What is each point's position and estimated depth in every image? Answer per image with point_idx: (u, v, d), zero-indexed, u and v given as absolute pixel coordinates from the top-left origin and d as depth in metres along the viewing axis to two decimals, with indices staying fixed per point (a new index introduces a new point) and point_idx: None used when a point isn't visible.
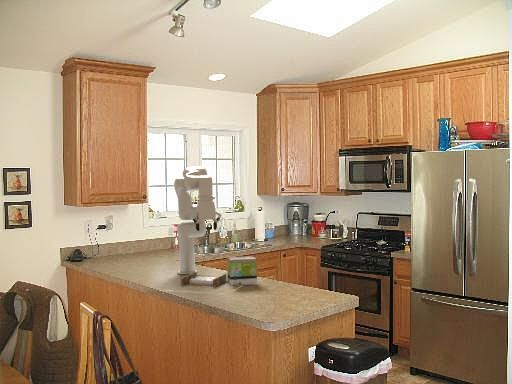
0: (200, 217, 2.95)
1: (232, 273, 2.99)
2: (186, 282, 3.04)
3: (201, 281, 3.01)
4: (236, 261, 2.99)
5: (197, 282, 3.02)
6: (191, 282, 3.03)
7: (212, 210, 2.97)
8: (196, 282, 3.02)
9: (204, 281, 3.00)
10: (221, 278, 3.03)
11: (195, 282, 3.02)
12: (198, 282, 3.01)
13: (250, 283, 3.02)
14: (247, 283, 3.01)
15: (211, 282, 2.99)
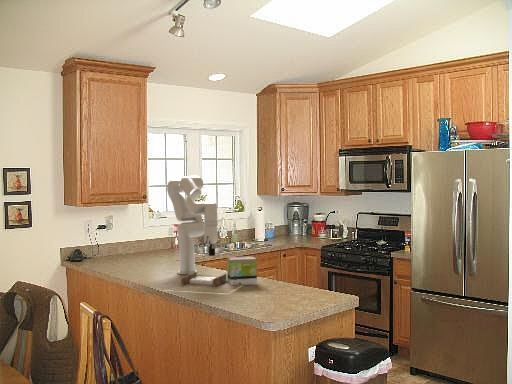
0: (212, 241, 3.10)
1: (232, 273, 2.99)
2: (186, 282, 3.04)
3: (201, 281, 3.01)
4: (236, 261, 2.99)
5: (197, 282, 3.02)
6: (191, 282, 3.03)
7: (217, 234, 3.16)
8: (196, 282, 3.02)
9: (204, 281, 3.00)
10: (221, 278, 3.03)
11: (195, 282, 3.02)
12: (198, 282, 3.01)
13: (250, 283, 3.02)
14: (247, 283, 3.01)
15: (211, 282, 2.99)
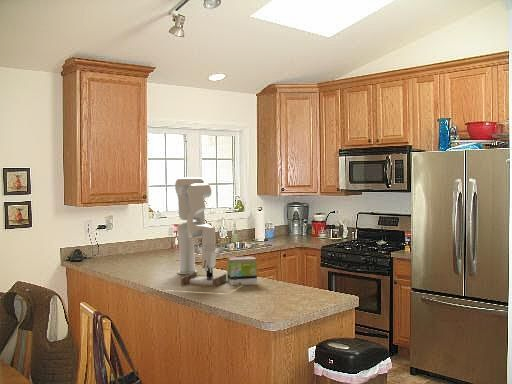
0: (210, 265, 3.07)
1: (232, 273, 2.99)
2: (186, 282, 3.04)
3: (201, 281, 3.01)
4: (236, 261, 2.99)
5: (197, 282, 3.02)
6: (191, 282, 3.03)
7: (214, 257, 3.14)
8: (196, 282, 3.02)
9: (204, 281, 3.00)
10: (221, 278, 3.03)
11: (195, 282, 3.02)
12: (198, 282, 3.01)
13: (250, 283, 3.02)
14: (247, 283, 3.01)
15: (211, 282, 2.99)
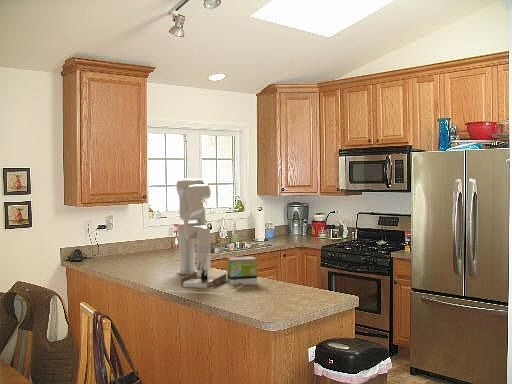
0: (204, 268, 3.00)
1: (232, 273, 2.99)
2: None
3: (195, 284, 2.94)
4: (236, 261, 2.99)
5: (191, 285, 2.95)
6: (185, 285, 2.96)
7: (209, 259, 3.07)
8: (190, 285, 2.95)
9: (198, 284, 2.93)
10: (221, 278, 3.03)
11: (189, 285, 2.95)
12: (192, 285, 2.94)
13: (250, 283, 3.02)
14: (247, 283, 3.01)
15: (205, 284, 2.92)
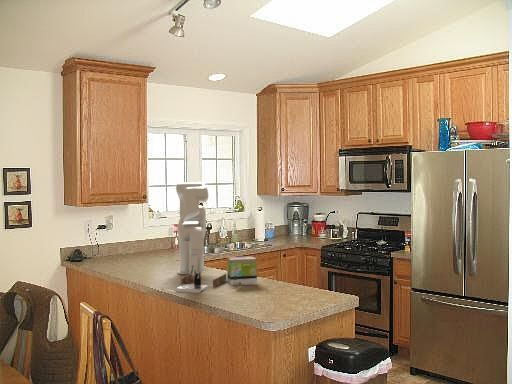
0: (197, 271, 2.92)
1: (232, 273, 2.99)
2: (186, 282, 3.04)
3: (188, 290, 2.86)
4: (236, 261, 2.99)
5: (184, 291, 2.87)
6: (178, 291, 2.88)
7: (203, 262, 2.98)
8: (183, 291, 2.87)
9: (191, 290, 2.85)
10: (221, 278, 3.03)
11: (182, 291, 2.87)
12: (185, 291, 2.87)
13: (250, 283, 3.02)
14: (247, 283, 3.01)
15: (199, 290, 2.84)
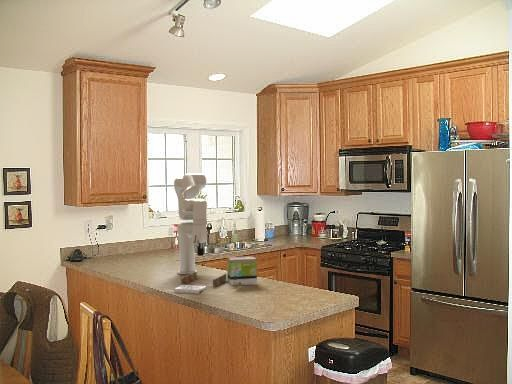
0: (200, 241, 2.96)
1: (232, 273, 2.99)
2: (186, 282, 3.04)
3: (187, 290, 2.84)
4: (236, 261, 2.99)
5: (183, 291, 2.85)
6: (176, 291, 2.86)
7: (206, 233, 3.02)
8: (182, 291, 2.85)
9: (190, 290, 2.84)
10: (221, 278, 3.03)
11: (181, 291, 2.86)
12: (184, 291, 2.85)
13: (250, 283, 3.02)
14: (247, 283, 3.01)
15: (197, 291, 2.82)
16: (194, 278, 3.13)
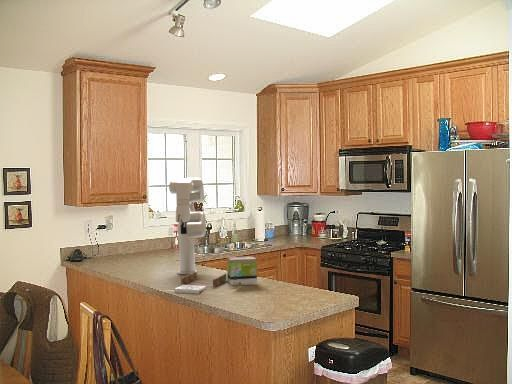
0: (183, 219, 3.14)
1: (232, 273, 2.99)
2: (186, 282, 3.04)
3: (187, 290, 2.84)
4: (236, 261, 2.99)
5: (183, 291, 2.85)
6: (176, 291, 2.86)
7: (189, 212, 3.21)
8: (182, 291, 2.85)
9: (190, 290, 2.84)
10: (221, 278, 3.03)
11: (181, 291, 2.86)
12: (184, 291, 2.85)
13: (250, 283, 3.02)
14: (247, 283, 3.01)
15: (197, 291, 2.82)
16: (194, 278, 3.13)
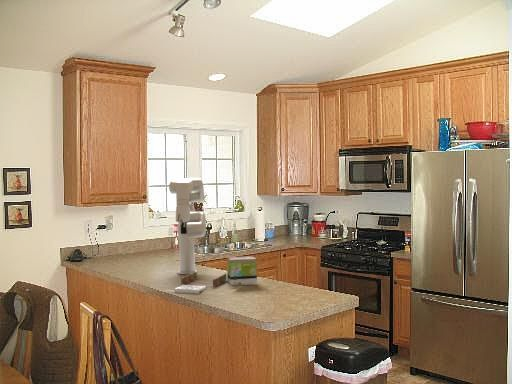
0: (183, 219, 3.14)
1: (232, 273, 2.99)
2: (186, 282, 3.04)
3: (187, 290, 2.84)
4: (236, 261, 2.99)
5: (183, 291, 2.85)
6: (176, 291, 2.86)
7: (188, 212, 3.21)
8: (182, 291, 2.85)
9: (190, 290, 2.84)
10: (221, 278, 3.03)
11: (181, 291, 2.86)
12: (184, 291, 2.85)
13: (250, 283, 3.02)
14: (247, 283, 3.01)
15: (197, 291, 2.83)
16: (194, 278, 3.13)
